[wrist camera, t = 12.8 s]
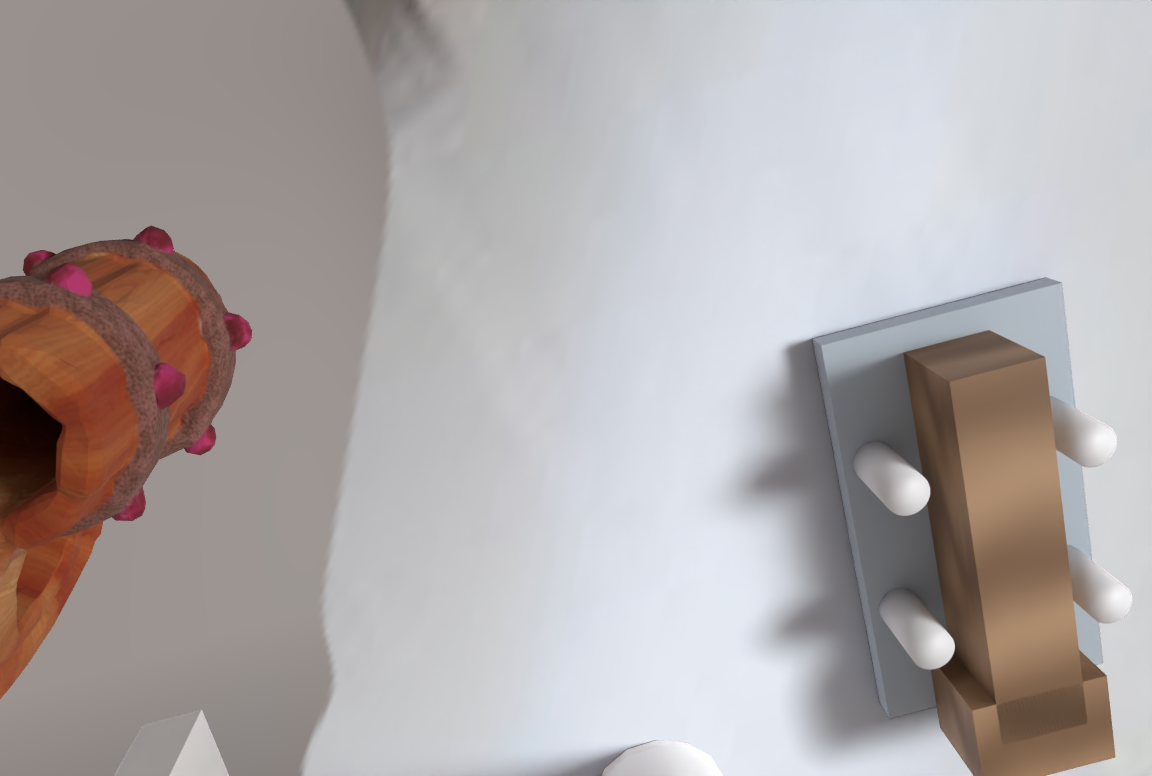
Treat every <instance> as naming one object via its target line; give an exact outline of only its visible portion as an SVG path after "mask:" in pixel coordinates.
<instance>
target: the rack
mask: <svg viewBox="0 0 1152 776" xmlns="http://www.w3.org/2000/svg"><path fill="white" fill-rule="evenodd" d="M987 330H990V331H992V332H994V333H996V334H999V335H1001V336H1003V337H1005V338H1007V339H1009V340H1011V341H1013V342H1015V343H1017V344H1019V345H1021V346H1024V347H1026V348H1028V349H1030V350H1032V351H1034V352H1036V353H1038V354H1040V355H1042V356H1044V357H1045V358H1046V367H1047V376H1048V384H1049V393H1050V402H1051V411H1052V419H1053V428H1054V437H1055V445H1056V454H1057V463H1058V471H1059V480H1060V489H1061V498H1062V506H1063V515H1064V524H1065V532H1066V541H1067V550H1068V559H1069V567H1070V576H1071V585H1072V593H1073V602H1074V611H1075V619H1076V628H1077V637H1078V646H1079V650H1080V651H1081V652H1082V653H1083V654H1084V655H1085V656H1087V657H1088V658H1089V659H1090V660H1091V661H1092V662H1093V663H1094V664H1095V665H1098V664H1102V663H1103V656H1102V647H1101V637H1100V628H1099V622H1100V623H1113V622H1116V621H1118V620H1120V619H1121V618H1123V617H1124V616H1125V615H1126V614H1127V613H1128V611H1129V610H1130V608H1131V605H1132V595H1131V592H1130V590H1129V589H1128V588H1127V587H1126V586H1124V585H1123V584H1122V583H1121V582H1119V581H1118V580H1117V579H1116V578H1114V577H1113V576H1112V575H1110V574H1109V573H1108V572H1107V571H1105V570H1104V569H1103V568H1101V567H1100V566H1099V565H1098V564H1096V563H1095V562H1094V561H1093V560H1092V554H1091V545H1090V536H1089V527H1088V518H1087V508H1086V499H1085V490H1084V481H1083V471H1082V466H1084V467H1097V466H1100V465H1102V464H1104V463H1105V462H1106V461H1108V460H1109V459H1110V458H1111V456H1112V455H1113V454H1114V452H1115V449H1116V446H1117V437H1116V434H1115V432H1114V431H1113V429H1112V428H1111V427H1109V426H1108V425H1106V424H1104V423H1102V422H1100V421H1099V420H1097V419H1095V418H1093V417H1091V416H1089V415H1088V414H1086V413H1084V412H1082V411H1080V410H1078V409H1077V408H1076V407H1075V398H1074V389H1073V379H1072V370H1071V361H1070V352H1069V342H1068V333H1067V324H1066V315H1065V306H1064V296H1063V287H1062V283H1061V282H1058V281H1055V280H1052V279H1049V278H1043V279H1039V280H1036V281H1032V282H1028V283H1024V284H1020V285H1016V286H1013V287H1009V288H1005V289H1001V290H997V291H993V292H990V293H986V294H982V295H978V296H974V297H970V298H967V299H963V300H959V301H955V302H951V303H947V304H944V305H940V306H936V307H932V308H928V309H924V310H921V311H917V312H913V313H909V314H905V315H901V316H898V317H894V318H890V319H886V320H882V321H878V322H875V323H871V324H867V325H863V326H859V327H855V328H852V329H848V330H844V331H840V332H836V333H832V334H829V335H825V336H821V337H817V338H813V345H814V350H815V356H816V361H817V366H818V372H819V377H820V383H821V388H822V393H823V399H824V404H825V409H826V415H827V420H828V426H829V431H830V436H831V442H832V447H833V453H834V458H835V463H836V469H837V474H838V479H839V485H840V490H841V496H842V501H843V506H844V512H845V517H846V523H847V528H848V533H849V539H850V544H851V550H852V555H853V560H854V566H855V571H856V576H857V582H858V587H859V593H860V598H861V603H862V609H863V614H864V620H865V625H866V630H867V636H868V641H869V647H870V652H871V657H872V663H873V668H874V673H875V679H876V684H877V690H878V695H879V700H880V704H881V706H882V707H883V709H884V711H885V712H886V714H887V715H888V717H889V719H891V718H895V717H899V716H903V715H906V714H910V713H914V712H918V711H922V710H926V709H929V708H933V707H937V705H936V699H935V693H934V686H933V680H932V674H931V669H937V668H940V667H942V666H944V665H945V664H946V663H947V662H949V660H950V659H951V658H952V656H953V654H954V650H955V644H954V640H953V638H952V637H951V636H950V635H949V633H948V632H947V627H946V621H945V614H944V608H943V602H942V595H941V589H940V583H939V576H938V570H937V563H936V557H935V551H934V544H933V538H932V532H931V525H930V519H929V513H928V506H927V502H928V500H929V497H930V486H929V483H928V481H927V480H926V479H925V478H924V477H923V475H922V468H921V462H920V456H919V449H918V443H917V437H916V430H915V424H914V418H913V411H912V405H911V399H910V392H909V386H908V380H907V373H906V367H905V361H904V354H903V352H906V351H910V350H914V349H918V348H922V347H926V346H930V345H933V344H937V343H941V342H945V341H949V340H953V339H957V338H960V337H964V336H968V335H972V334H976V333H980V332H983V331H987Z"/></svg>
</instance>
